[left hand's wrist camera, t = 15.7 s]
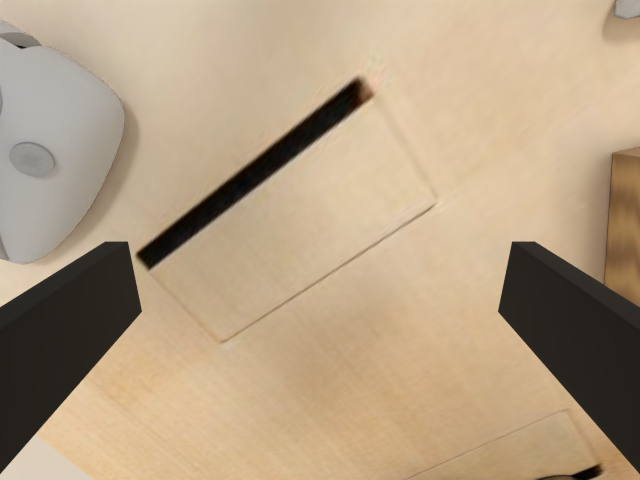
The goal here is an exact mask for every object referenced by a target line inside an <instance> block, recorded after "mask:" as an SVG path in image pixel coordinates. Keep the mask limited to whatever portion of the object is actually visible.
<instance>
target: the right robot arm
mask: <svg viewBox="0 0 640 480" xmlns="http://www.w3.org/2000/svg"><path fill="white" fill-rule="evenodd" d="M542 480H584V479H581V478H577V477H569V476H558V477H550V478H546V479H542Z"/></svg>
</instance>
